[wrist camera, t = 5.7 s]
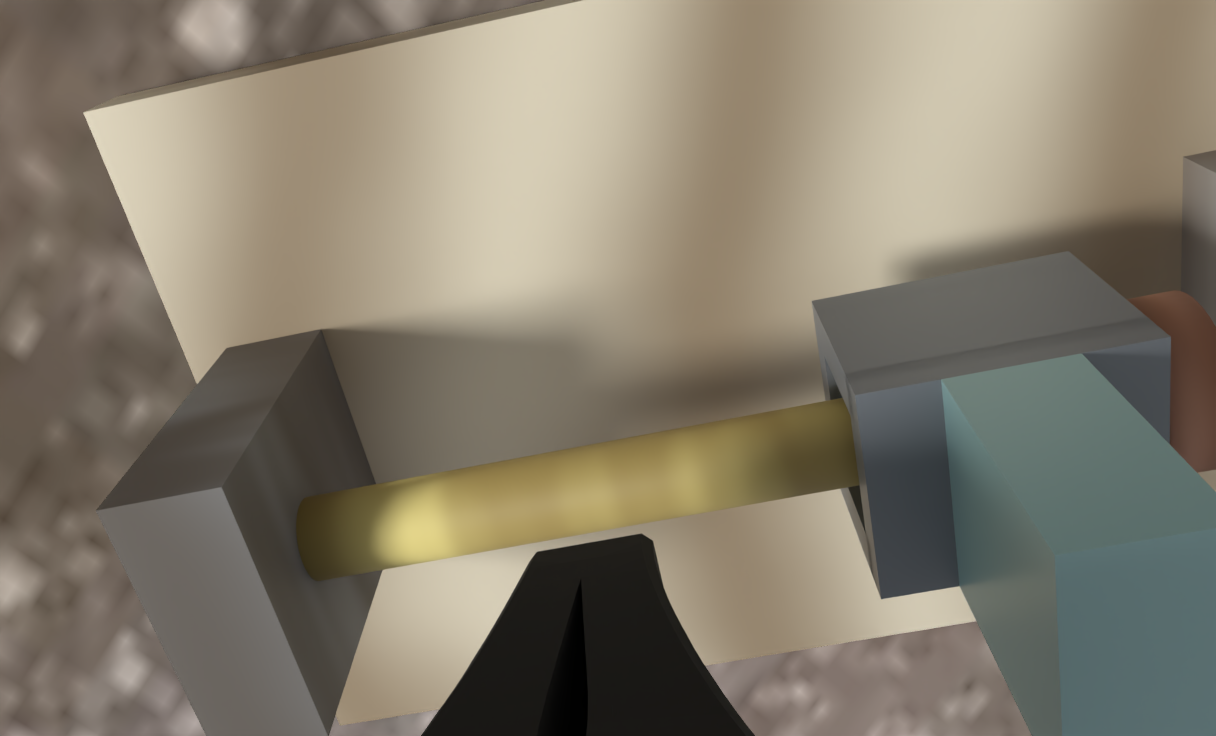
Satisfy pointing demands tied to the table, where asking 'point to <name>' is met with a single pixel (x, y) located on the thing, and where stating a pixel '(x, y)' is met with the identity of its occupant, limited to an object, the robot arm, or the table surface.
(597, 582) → the robot arm
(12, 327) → the table surface
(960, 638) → the table surface
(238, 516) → the rod and block board
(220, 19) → the table surface
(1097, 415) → the sleeve
